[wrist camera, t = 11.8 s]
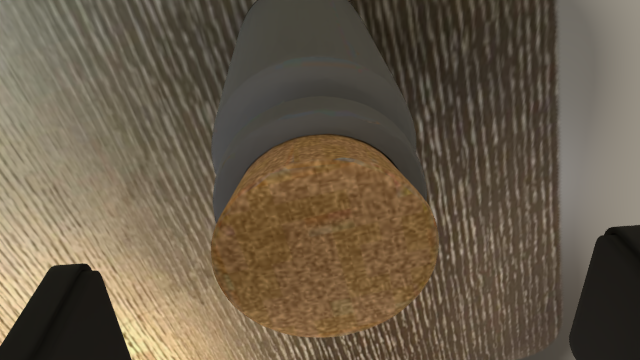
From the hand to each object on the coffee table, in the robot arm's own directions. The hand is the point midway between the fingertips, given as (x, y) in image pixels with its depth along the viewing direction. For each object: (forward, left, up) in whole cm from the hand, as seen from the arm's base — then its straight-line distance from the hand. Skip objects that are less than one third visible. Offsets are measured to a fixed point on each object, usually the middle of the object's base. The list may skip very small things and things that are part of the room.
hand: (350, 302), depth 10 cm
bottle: (0, 0, -16) cm, 16 cm away
